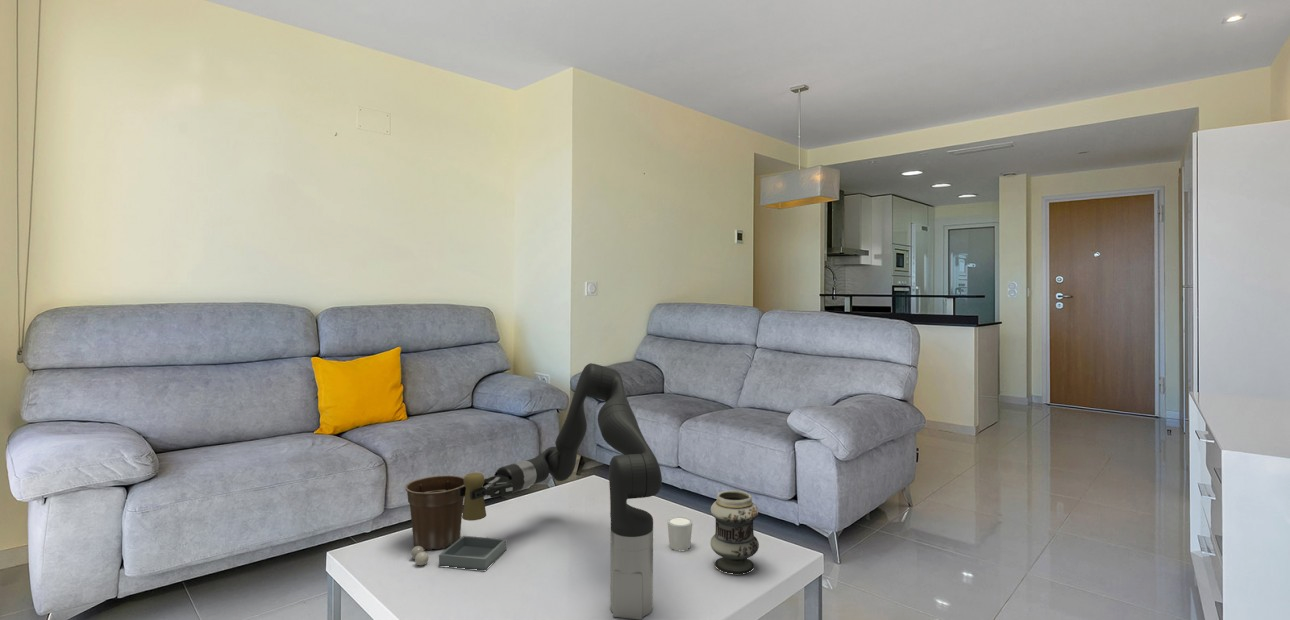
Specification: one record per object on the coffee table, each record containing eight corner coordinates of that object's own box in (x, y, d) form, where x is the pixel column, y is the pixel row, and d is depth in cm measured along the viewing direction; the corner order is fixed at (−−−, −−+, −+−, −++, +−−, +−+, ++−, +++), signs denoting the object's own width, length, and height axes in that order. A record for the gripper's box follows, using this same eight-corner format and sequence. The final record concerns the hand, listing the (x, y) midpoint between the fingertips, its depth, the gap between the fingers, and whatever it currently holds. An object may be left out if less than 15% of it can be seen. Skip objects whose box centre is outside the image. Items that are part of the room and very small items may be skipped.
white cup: (690, 553, 157) (690, 526, 157) (665, 550, 159) (665, 524, 159) (693, 542, 164) (694, 517, 164) (669, 540, 165) (669, 515, 165)
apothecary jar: (729, 552, 158) (730, 484, 158) (768, 566, 150) (768, 495, 149) (700, 565, 150) (700, 494, 150) (739, 582, 141) (739, 506, 141)
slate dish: (485, 571, 146) (485, 559, 146) (438, 566, 148) (438, 554, 148) (506, 550, 158) (506, 539, 158) (463, 546, 161) (463, 535, 161)
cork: (456, 518, 152) (456, 475, 152) (473, 510, 157) (473, 469, 157) (474, 522, 149) (474, 478, 149) (491, 514, 155) (491, 472, 154)
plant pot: (405, 534, 169) (405, 478, 169) (465, 527, 175) (465, 472, 174) (404, 557, 154) (404, 495, 153) (469, 549, 159) (469, 489, 159)
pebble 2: (424, 568, 148) (424, 555, 148) (412, 567, 148) (412, 554, 148) (431, 562, 151) (431, 550, 151) (419, 561, 151) (419, 549, 151)
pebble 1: (419, 561, 151) (419, 549, 151) (408, 560, 152) (408, 548, 152) (426, 556, 154) (426, 544, 154) (415, 555, 155) (415, 543, 155)
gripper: (498, 459, 169) (447, 474, 155) (534, 467, 161) (483, 484, 147) (498, 485, 169) (447, 503, 155) (534, 495, 161) (483, 514, 147)
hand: (465, 493), depth 151 cm, fingers closed on cork, 4 cm apart
